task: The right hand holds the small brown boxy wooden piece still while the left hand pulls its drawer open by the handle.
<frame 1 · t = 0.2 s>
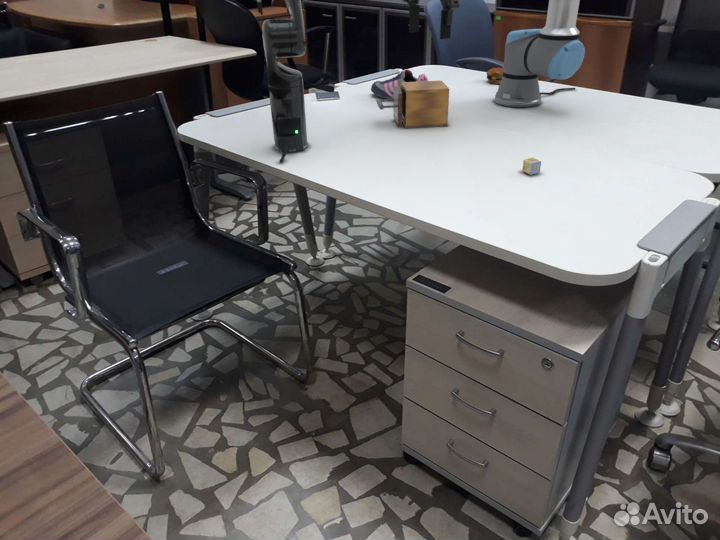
left hand: (275, 14, 183), 29 cm above the table, tool pointing down, fingers open, 8 cm apart
right hand: (429, 35, 150), 28 cm above the table, tool pointing down, fingers open, 13 cm apart
brown boxy wooden piece: (423, 122, 178), on the table
running shoe: (400, 99, 201), on the table
burger: (498, 82, 220), on the table
alphabet block: (530, 172, 140), on the table
drawer: (405, 104, 174), point 6 cm above the table, slide at 1.2 cm
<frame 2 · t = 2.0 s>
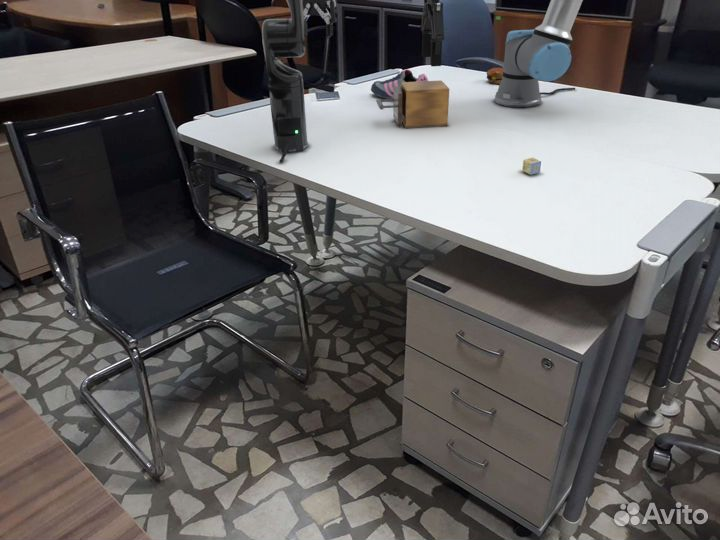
left hand: (317, 36, 177), 24 cm above the table, tool pointing down, fingers open, 8 cm apart
right hand: (430, 61, 168), 18 cm above the table, tool pointing down, fingers open, 13 cm apart
nothing on the table moved.
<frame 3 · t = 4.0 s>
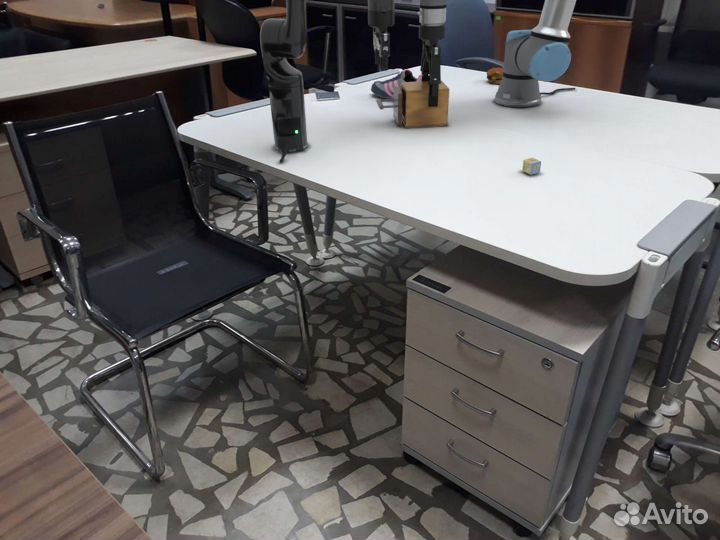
left hand: (381, 67, 169), 17 cm above the table, tool pointing down, fingers open, 8 cm apart
right hand: (429, 101, 175), 6 cm above the table, tool pointing down, fingers closed on brown boxy wooden piece, 11 cm apart
brown boxy wooden piece: (423, 121, 178), on the table, touching right hand
everything else where it was.
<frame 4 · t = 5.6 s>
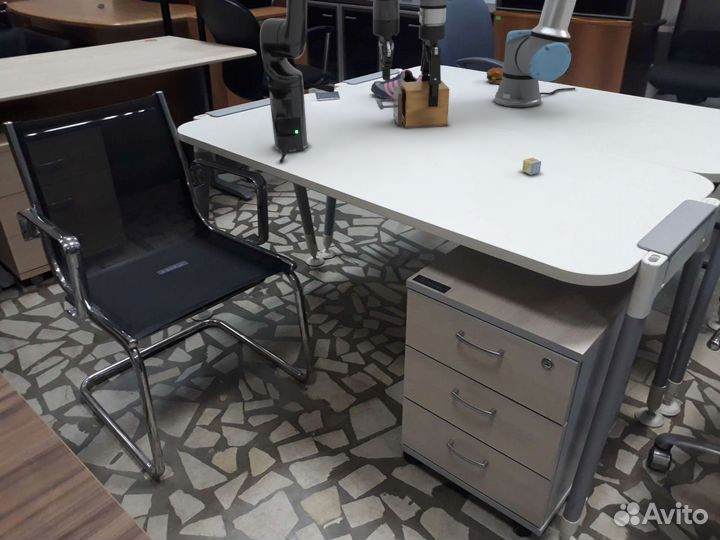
left hand: (386, 79, 170), 13 cm above the table, tool pointing down, fingers closed
right hand: (429, 101, 175), 6 cm above the table, tool pointing down, fingers closed on brown boxy wooden piece, 11 cm apart
brown boxy wooden piece: (423, 122, 178), on the table, touching right hand
everything else where it was.
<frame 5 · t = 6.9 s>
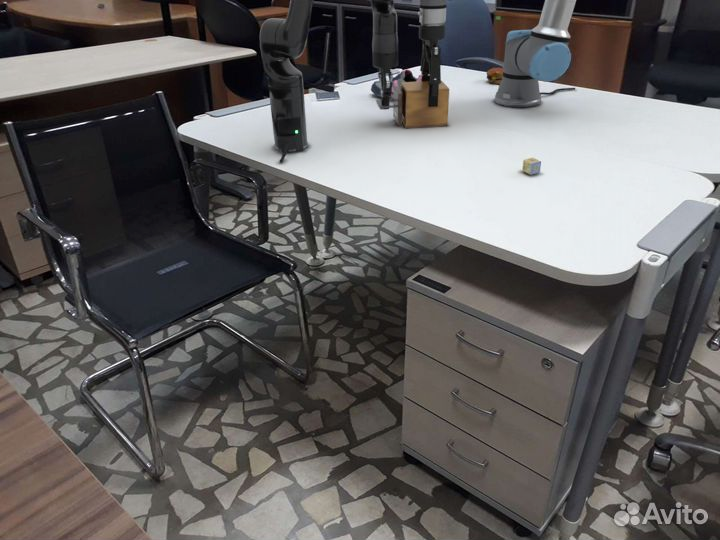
left hand: (385, 108, 174), 5 cm above the table, tool pointing down, fingers closed
right hand: (429, 101, 175), 6 cm above the table, tool pointing down, fingers closed on brown boxy wooden piece, 11 cm apart
brown boxy wooden piece: (423, 122, 178), on the table, touching right hand
drawer: (405, 104, 174), point 6 cm above the table, slide at 1.2 cm, touching left hand
everything else where it was.
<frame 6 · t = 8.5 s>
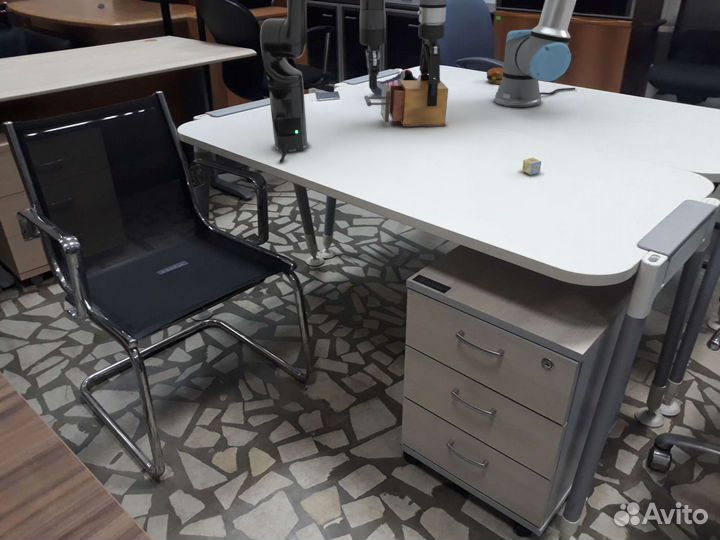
left hand: (373, 88, 170), 11 cm above the table, tool pointing down, fingers closed
right hand: (428, 101, 174), 6 cm above the table, tool pointing down, fingers closed on brown boxy wooden piece, 11 cm apart
brown boxy wooden piece: (420, 121, 177), on the table, touching right hand
drawer: (393, 103, 174), point 6 cm above the table, slide at 4.4 cm
everything else where it was.
when the right hand's fingers open (6 cm above the table, at t = 9.8 s): brown boxy wooden piece stays where it is, on the table.
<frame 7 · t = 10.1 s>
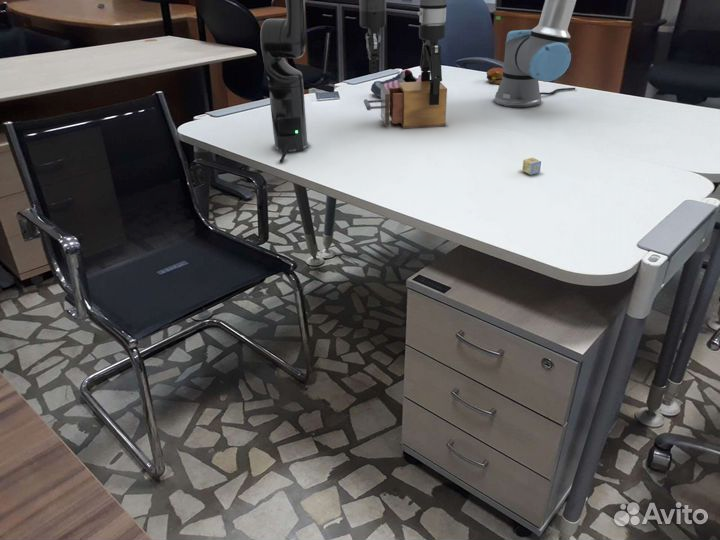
left hand: (373, 72, 168), 16 cm above the table, tool pointing down, fingers closed
right hand: (429, 98, 174), 7 cm above the table, tool pointing down, fingers open, 13 cm apart
brown boxy wooden piece: (420, 122, 178), on the table
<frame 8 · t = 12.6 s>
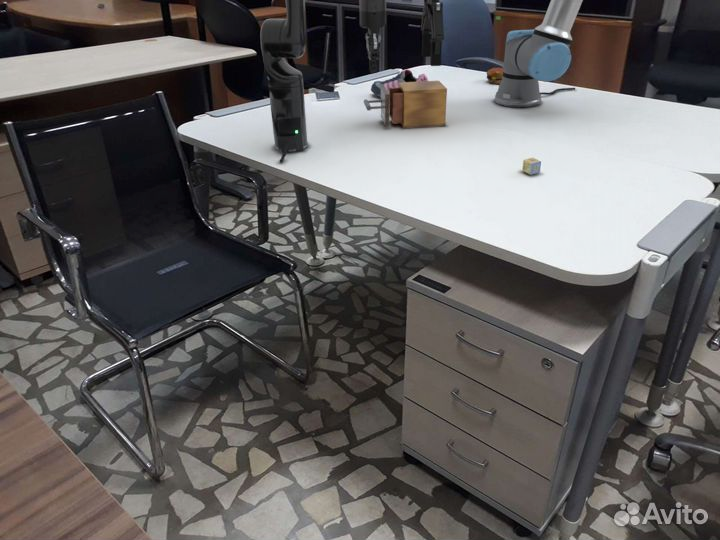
left hand: (373, 72, 168), 16 cm above the table, tool pointing down, fingers closed
right hand: (430, 61, 168), 18 cm above the table, tool pointing down, fingers open, 13 cm apart
nothing on the table moved.
at the end: drawer slide at 4.4 cm; brown boxy wooden piece tilted 0°; brown boxy wooden piece never tilted more than 3° during the clip; brown boxy wooden piece moved 0.8 cm from its start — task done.
